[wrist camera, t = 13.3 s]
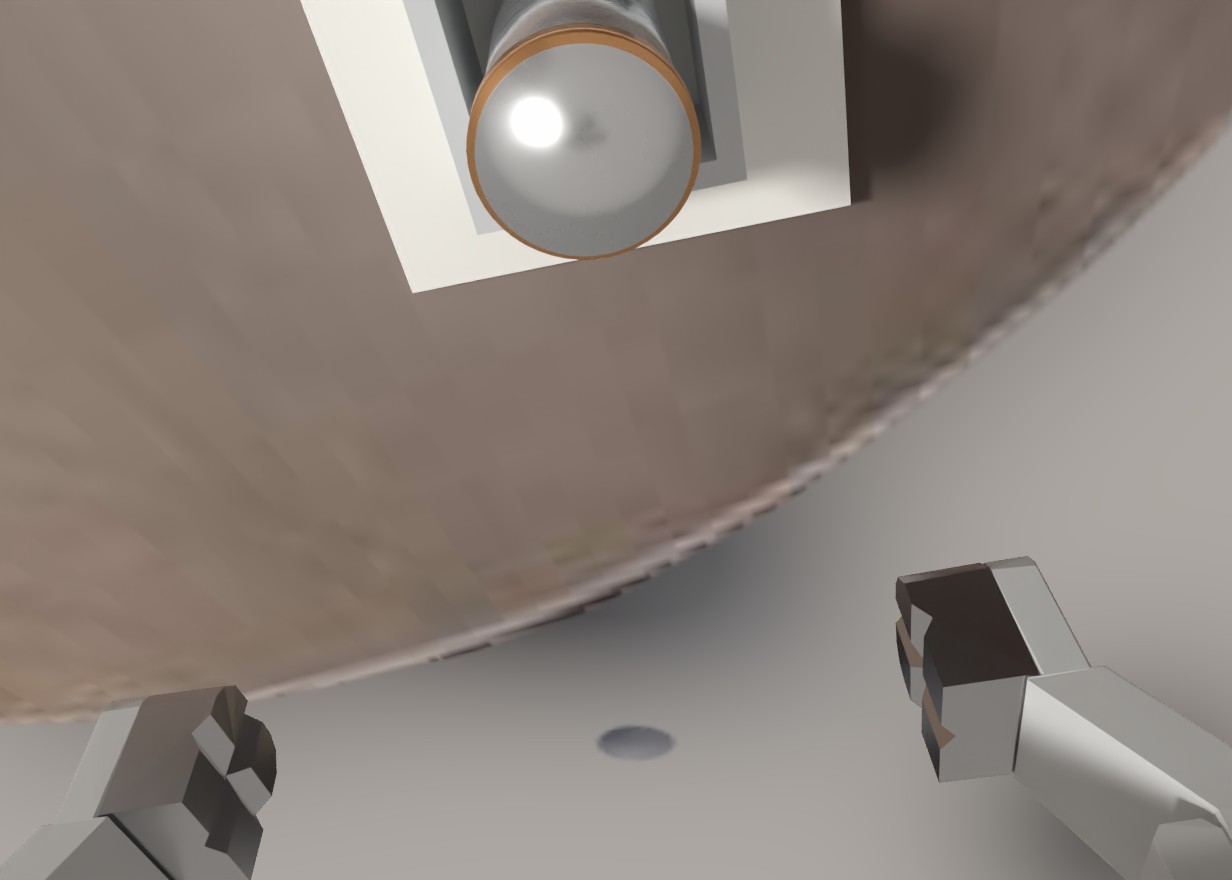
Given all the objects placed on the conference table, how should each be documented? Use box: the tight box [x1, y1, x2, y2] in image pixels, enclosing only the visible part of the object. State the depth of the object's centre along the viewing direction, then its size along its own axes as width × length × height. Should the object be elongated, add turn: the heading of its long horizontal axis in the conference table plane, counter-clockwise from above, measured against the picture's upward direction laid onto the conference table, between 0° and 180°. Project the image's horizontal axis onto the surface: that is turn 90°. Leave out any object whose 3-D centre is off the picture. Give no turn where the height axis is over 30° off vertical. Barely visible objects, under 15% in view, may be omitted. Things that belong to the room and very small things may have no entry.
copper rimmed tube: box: [466, 0, 701, 260], centre depth 26 cm, size 5×5×10 cm
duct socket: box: [300, 0, 851, 293], centre depth 29 cm, size 16×16×6 cm
